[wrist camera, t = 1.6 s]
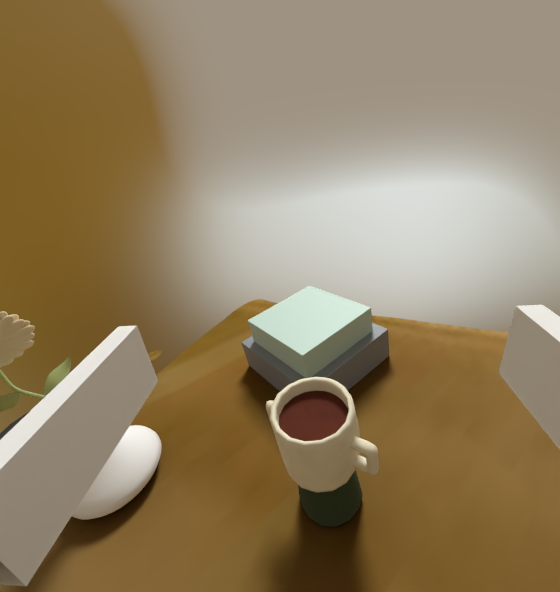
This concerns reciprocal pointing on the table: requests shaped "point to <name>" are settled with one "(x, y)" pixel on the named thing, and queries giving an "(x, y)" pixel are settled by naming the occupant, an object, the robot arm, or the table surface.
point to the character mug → (322, 447)
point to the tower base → (333, 371)
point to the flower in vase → (126, 456)
